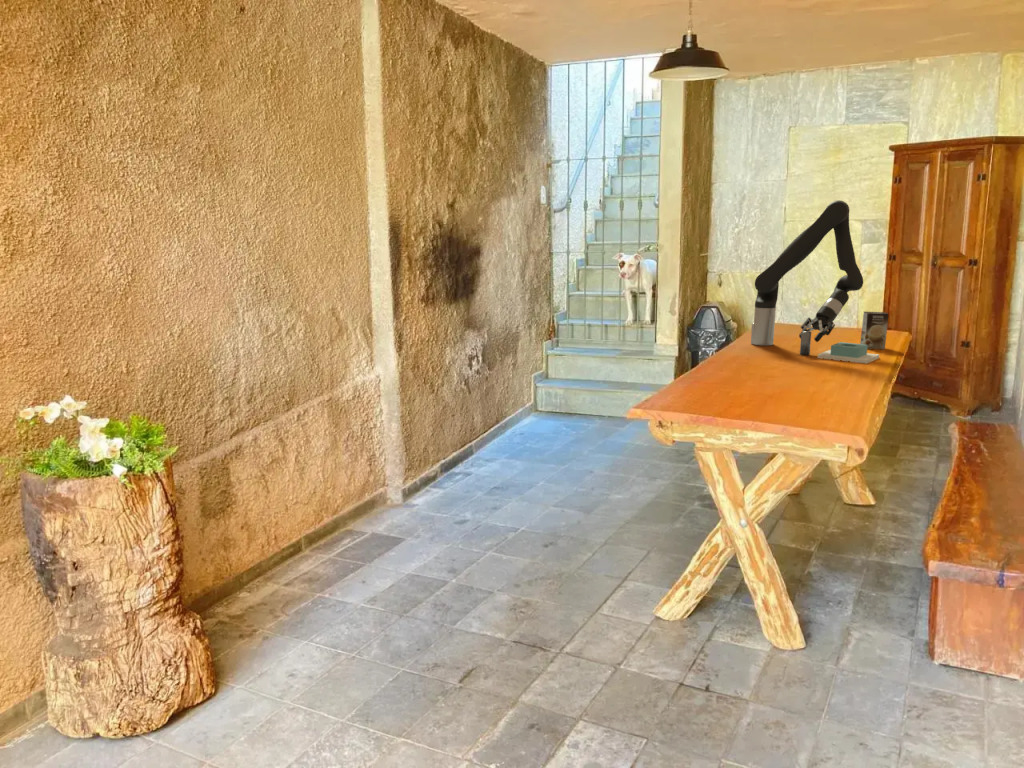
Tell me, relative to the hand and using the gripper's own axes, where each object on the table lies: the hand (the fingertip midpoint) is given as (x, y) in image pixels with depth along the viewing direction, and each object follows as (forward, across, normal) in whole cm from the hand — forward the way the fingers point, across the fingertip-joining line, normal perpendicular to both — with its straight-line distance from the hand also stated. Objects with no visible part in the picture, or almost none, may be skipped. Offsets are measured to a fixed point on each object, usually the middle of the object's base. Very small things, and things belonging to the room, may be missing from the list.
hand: (808, 339), depth 345 cm
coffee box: (-22, +2, +32) cm, 39 cm away
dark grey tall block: (+6, 0, +4) cm, 7 cm away
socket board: (-2, +14, +11) cm, 18 cm away
